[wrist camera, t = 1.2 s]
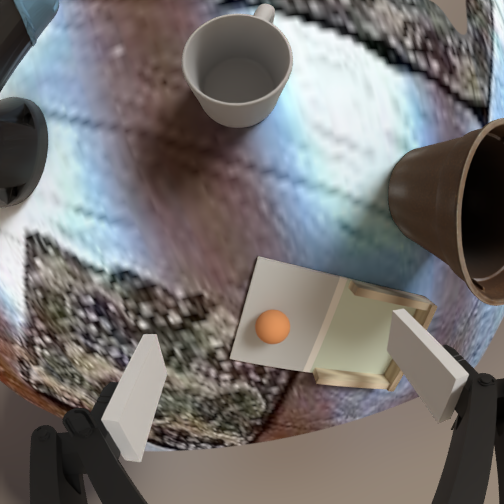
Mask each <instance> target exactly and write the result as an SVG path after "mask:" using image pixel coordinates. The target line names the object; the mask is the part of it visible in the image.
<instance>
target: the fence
mask: <svg viewBox="0 0 504 504" xmlns="http://www.w3.org/2000/svg"><path fill="white" fill-rule="evenodd" d="M358 281H359V280H358ZM366 283H367V282H365V283H362V282H357V281H353V280H351V281H350V284H349V287H348V288H349V289H350V290H351V291H352V293H353V294H354V295H355V296H360V297H365V298H369V299H374V300H379V301H383V302H388V303H393V304H397V305H402V306H407V307H412V308H416V311H415V313H414V315H413V318H414V319H415V320H416V321H417V322H418V323H419V324H420V325H421V326H422V327H423V328H424V329H425V330H427V328H428V326H429V324H430V322H431V320H432V318H433V315H434V313H435V311H436V309H437V306H436V305H435V304H434V303H432V302H431V301H430V300H429V299H427V298H426V297H425V296H421V295H417V294H413V293H409V292H405V291H400V290H397V291H395V290H396V289H392V288H388V287H384V286H381V287H378V285H377V286H374V285H375V284H374V285H370V284H371V283H370V284H366ZM379 286H380V285H379ZM383 287H384V288H383ZM387 288H388V289H387ZM391 289H392V290H391ZM404 292H405V293H404ZM313 375H314V378H315V381H316V384H323V385H333V386H344V387H357V388H373V389H387V390H388V391H394V390H395V388H396V386H397V385H398V383H399V381H400V379H401V378H402V376H403V372H402V371H401V369H400V368H399V367H398V365H397V364H396V362H395V361H394V360H393V359H392V361H391V363H390V364H389V366H388V368H387V370H386V372H385V374H372V373H361V372H351V371H341V370H333V369H325V368H317V367H315V369H314V371H313Z"/></svg>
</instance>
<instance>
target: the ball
mask: <svg viewBox="0 0 504 504" xmlns="http://www.w3.org/2000/svg"><path fill="white" fill-rule="evenodd" d="M255 330H256V334H257V336H258V337H259V338H260V339H261V340H262V341H263V342H265V343H268V344H277V343H280V342H282V341H283V340H285V339H286V337H287V336H288V334H289V332H290V322H289V319H288V317H287V316H286V315H285V314H284V313H283V312H281V311H279V310H267V311H265V312H263V313H262V314H261V315H260V316H259V317H258V318H257V320H256V324H255Z"/></svg>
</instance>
